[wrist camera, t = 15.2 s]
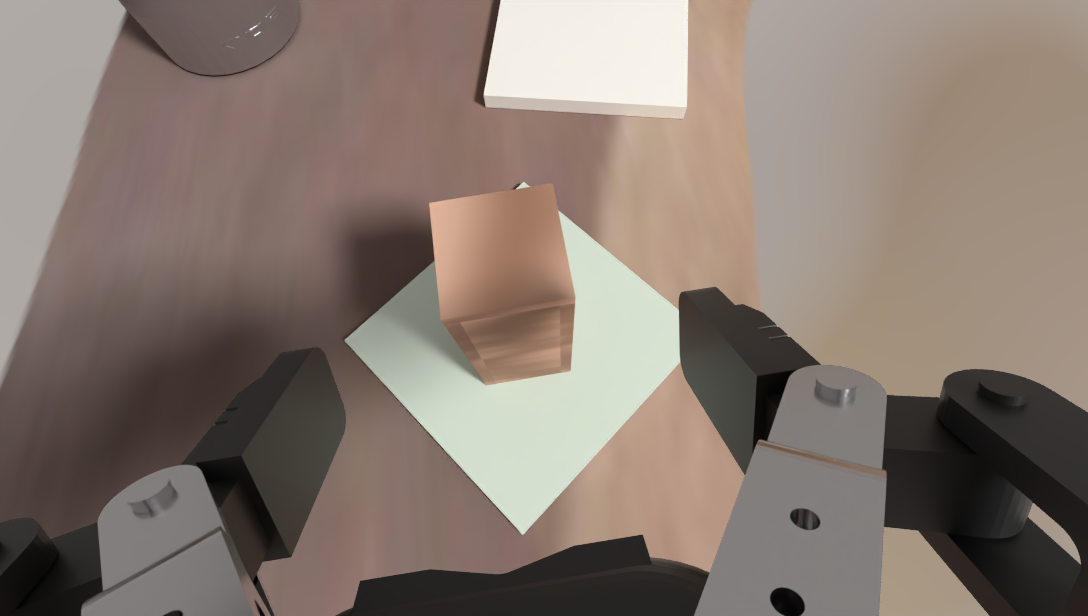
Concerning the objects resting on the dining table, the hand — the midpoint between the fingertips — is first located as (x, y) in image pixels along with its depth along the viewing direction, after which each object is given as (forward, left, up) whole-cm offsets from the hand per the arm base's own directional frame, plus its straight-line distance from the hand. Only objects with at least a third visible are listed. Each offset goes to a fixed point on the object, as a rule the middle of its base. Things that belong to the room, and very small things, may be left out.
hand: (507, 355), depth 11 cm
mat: (-4, +3, -14) cm, 15 cm away
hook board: (-19, +25, -14) cm, 34 cm away
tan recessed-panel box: (-4, +3, -14) cm, 14 cm away
